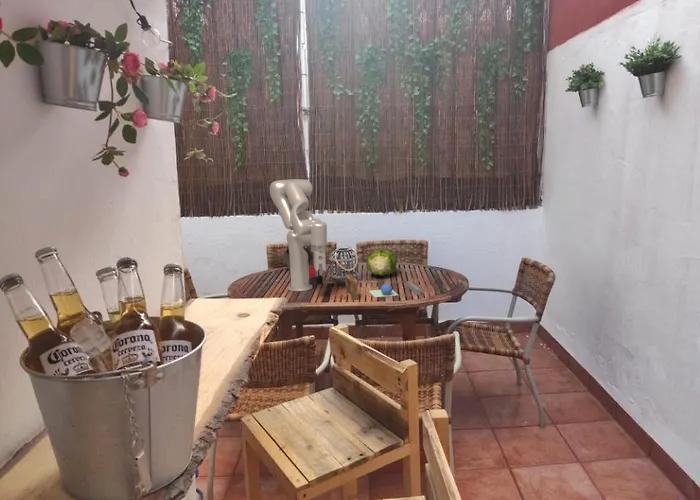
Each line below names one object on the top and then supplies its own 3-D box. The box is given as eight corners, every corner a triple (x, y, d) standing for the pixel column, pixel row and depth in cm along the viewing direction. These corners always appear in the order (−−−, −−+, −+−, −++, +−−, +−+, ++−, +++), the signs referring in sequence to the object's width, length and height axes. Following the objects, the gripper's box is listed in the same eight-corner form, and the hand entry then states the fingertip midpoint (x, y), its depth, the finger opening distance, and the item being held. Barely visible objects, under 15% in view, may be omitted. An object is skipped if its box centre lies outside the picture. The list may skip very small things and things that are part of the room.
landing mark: (368, 291, 268) (368, 290, 268) (391, 289, 270) (391, 288, 270) (374, 297, 256) (374, 296, 256) (398, 295, 259) (398, 294, 259)
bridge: (351, 300, 253) (351, 281, 251) (345, 292, 267) (345, 274, 265) (357, 299, 254) (357, 280, 252) (351, 291, 268) (351, 273, 266)
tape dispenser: (315, 279, 297) (315, 270, 296) (299, 278, 300) (299, 270, 299) (325, 273, 310) (325, 265, 309) (309, 272, 313) (309, 264, 312)
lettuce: (364, 281, 288) (364, 254, 285) (370, 272, 308) (369, 246, 305) (394, 281, 285) (394, 254, 282) (397, 272, 305) (397, 246, 302)
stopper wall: (407, 286, 274) (407, 282, 273) (410, 286, 274) (410, 281, 274) (416, 294, 258) (416, 289, 258) (420, 294, 259) (420, 289, 258)
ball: (381, 295, 262) (377, 285, 261) (391, 291, 263) (388, 281, 262) (384, 298, 257) (380, 287, 256) (395, 293, 258) (391, 283, 256)
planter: (278, 263, 319) (294, 235, 313) (281, 260, 326) (298, 232, 321) (301, 278, 318) (318, 250, 313) (304, 275, 325) (321, 248, 320)
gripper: (329, 251, 247) (329, 288, 251) (324, 243, 261) (324, 278, 266) (313, 251, 245) (313, 289, 250) (309, 244, 259) (309, 279, 264)
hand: (319, 283), depth 258 cm, fingers closed
